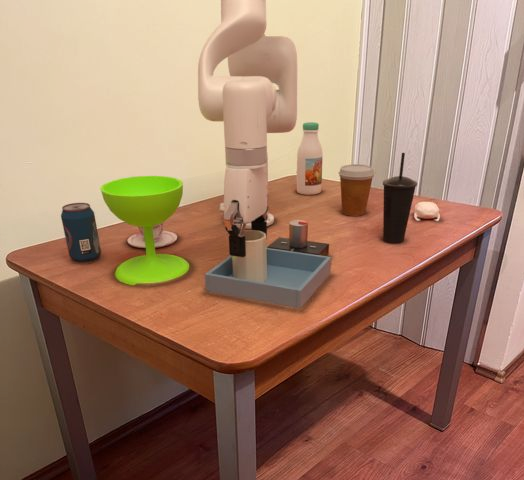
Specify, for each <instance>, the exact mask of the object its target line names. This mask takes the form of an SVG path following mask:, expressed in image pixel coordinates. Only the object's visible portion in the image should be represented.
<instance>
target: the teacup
mask: <svg viewBox="0 0 524 480" xmlns="http://www.w3.org/2000/svg"><path fill="white" fill-rule="evenodd" d="M163 224H164V222H163V223H160V224H157V225H155V226H152V229H153V237H154V245H155V249H157V248H162V247H166V246H169V245H172V244H174V243H175V242H177V240H178V235H177V234H176V233H175V232H172V231H169V230H163V229H164V225H163ZM137 228H138V230H139V232H137V233H134V234H132V235H130V236H129V237H128V238H127V240H126V241H127V244H128V245H129V246H131V247H135V248H139V249H146V247H145V240H144V232H143V227H139V226H137Z"/></svg>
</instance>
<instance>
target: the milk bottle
mask: <svg viewBox="0 0 524 480" xmlns="http://www.w3.org/2000/svg"><path fill="white" fill-rule="evenodd" d="M319 126H320V125H319V123H318V122H311V121H310V122H308V121H307V122H304V123H303V124H302V132H303V134H302V138H301V141H300V144H299V146H298V149H297V156H296V192H297V193H298V194H301V195H306V196H307V195H308V196H310V195H311V196H312V195H317V194H320V193H321V192H322V183H323V181H322V180H323V148H322V144H321V142H320V139H319V136H318V132H319Z"/></svg>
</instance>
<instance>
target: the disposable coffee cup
mask: <svg viewBox="0 0 524 480" xmlns="http://www.w3.org/2000/svg"><path fill="white" fill-rule="evenodd" d="M375 175H376V173H375V171H374V167H373V166H372V165H371V166H370V165H367V164H358V163H357V164H355V163H353V164H345V165H342V166H340V168H339V171H338V176H339V182H340V195H341V196H340V197H341V212H342V214H343V215H345V216H350V217H358V216H359V217H361V216H363V215H365V214H366V211H367V207H368V200H369V196H370V193H371V187H372V182H373V178H374V177H375Z"/></svg>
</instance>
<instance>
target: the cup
mask: <svg viewBox="0 0 524 480" xmlns="http://www.w3.org/2000/svg"><path fill="white" fill-rule="evenodd" d="M243 236H245V243H246V256H245V257H237V256H232V268H233V277H234V278H240V279H246V280H252V281H258V282H264V281H265V280H266V279H267V247H268V245H267V244H268V243H267V240H266V234H265V233H264V232H261V231H257V230H251V229H245V230H244V234H243Z"/></svg>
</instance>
